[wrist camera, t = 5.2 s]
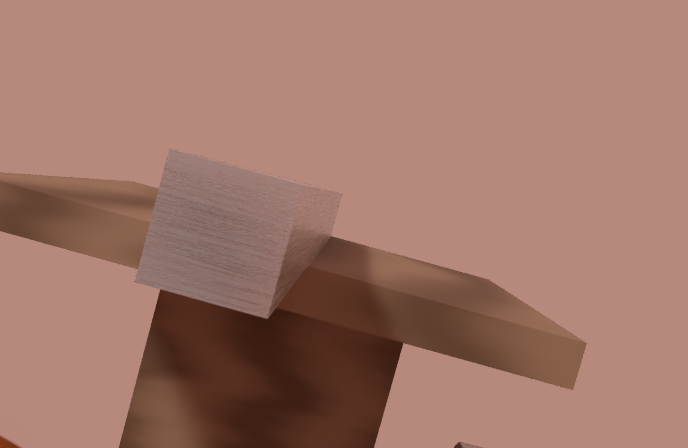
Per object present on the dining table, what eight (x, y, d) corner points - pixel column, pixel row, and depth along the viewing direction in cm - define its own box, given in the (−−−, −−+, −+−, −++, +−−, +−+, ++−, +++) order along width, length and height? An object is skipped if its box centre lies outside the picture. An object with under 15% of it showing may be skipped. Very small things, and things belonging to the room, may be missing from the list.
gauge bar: (134, 282, 11) (169, 148, 11) (285, 225, 33) (297, 181, 33) (267, 318, 11) (303, 185, 11) (330, 238, 33) (342, 193, 33)
